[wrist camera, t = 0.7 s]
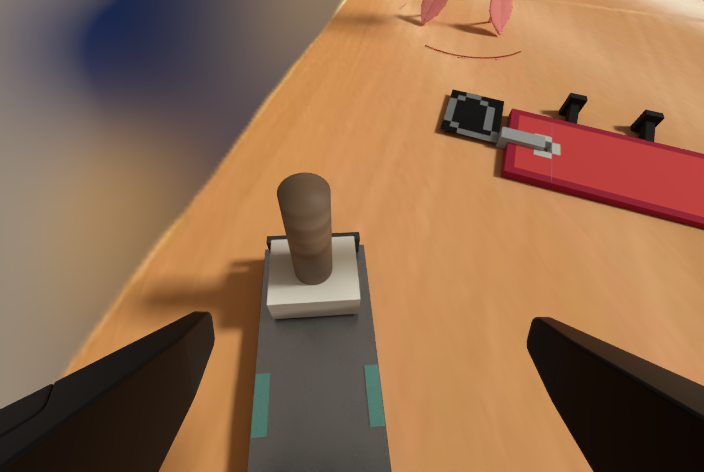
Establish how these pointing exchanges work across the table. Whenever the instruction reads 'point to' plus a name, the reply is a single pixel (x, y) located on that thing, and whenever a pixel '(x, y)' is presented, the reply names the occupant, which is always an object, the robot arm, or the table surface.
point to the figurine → (498, 16)
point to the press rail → (318, 389)
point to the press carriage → (310, 255)
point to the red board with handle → (588, 157)
